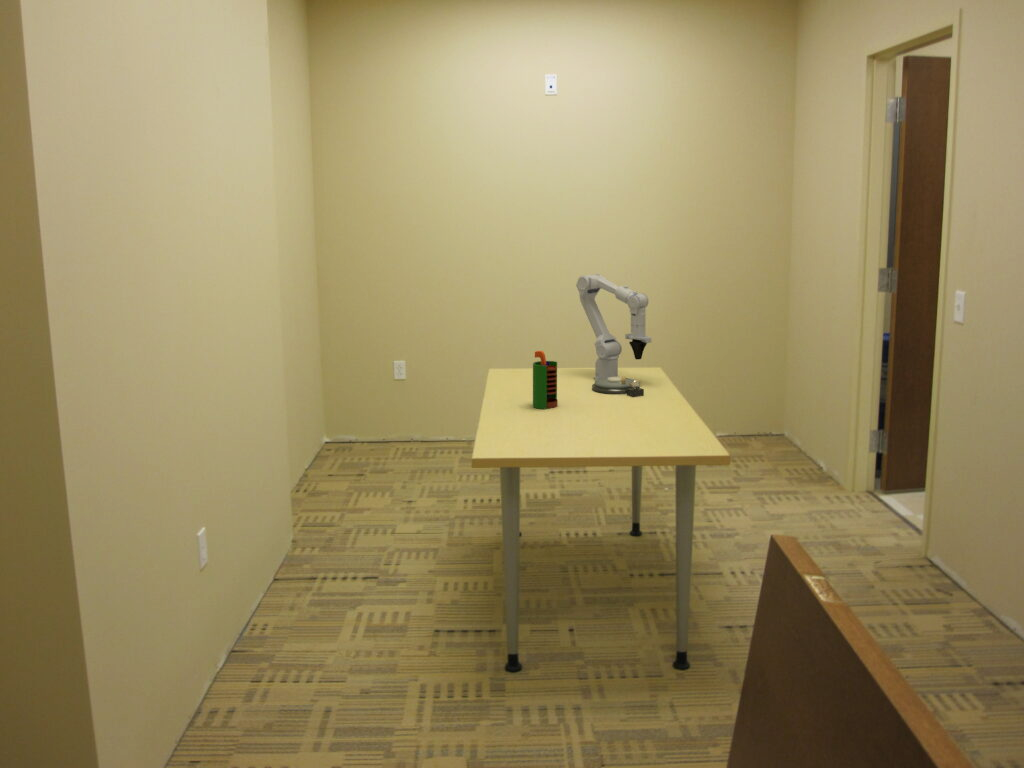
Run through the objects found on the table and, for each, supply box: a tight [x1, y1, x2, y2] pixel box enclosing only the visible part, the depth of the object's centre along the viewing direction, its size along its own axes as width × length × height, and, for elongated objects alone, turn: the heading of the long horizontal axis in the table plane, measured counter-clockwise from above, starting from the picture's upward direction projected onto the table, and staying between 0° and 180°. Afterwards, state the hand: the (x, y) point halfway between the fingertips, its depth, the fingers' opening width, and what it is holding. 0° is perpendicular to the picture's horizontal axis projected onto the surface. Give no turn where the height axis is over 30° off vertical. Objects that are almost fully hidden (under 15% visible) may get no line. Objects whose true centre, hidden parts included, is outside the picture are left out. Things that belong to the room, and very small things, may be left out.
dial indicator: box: [626, 379, 645, 398], centre depth 338 cm, size 5×5×6 cm
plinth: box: [591, 382, 629, 395], centre depth 349 cm, size 18×18×2 cm
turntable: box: [594, 375, 635, 389], centre depth 348 cm, size 16×16×4 cm
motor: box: [532, 350, 559, 410], centre depth 322 cm, size 10×9×20 cm
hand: (638, 359), depth 354 cm, fingers closed
